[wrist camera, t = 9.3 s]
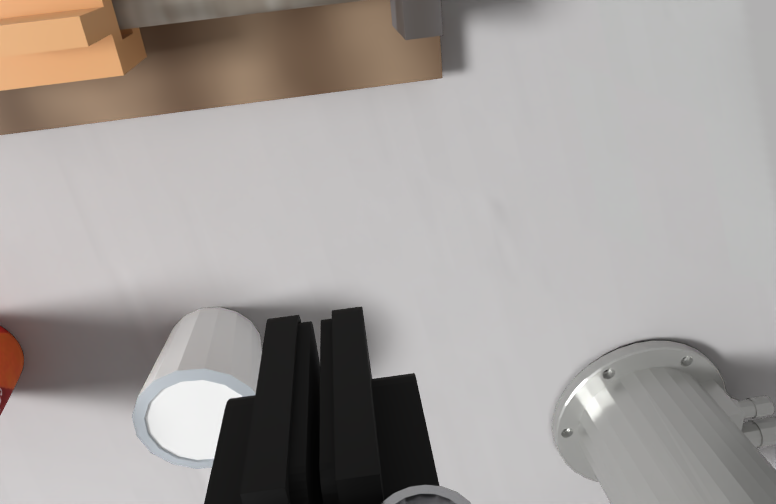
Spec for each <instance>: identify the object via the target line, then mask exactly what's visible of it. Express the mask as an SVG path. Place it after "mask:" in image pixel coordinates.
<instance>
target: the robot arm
mask: <svg viewBox="0 0 776 504" xmlns="http://www.w3.org/2000/svg"><path fill="white" fill-rule="evenodd" d="M773 413H774V405H773V402H772V401H771V399H770V398H769V397H767V396H760V397H754V398H748V399H746V400H741V401H737V400H736V399H734V398H730V397H729V396H728V395H727V394H726V388H725V384H724V380H723V378H722V376H721V374H720V372H719V371H718V369H717V368H716V367H715V365H714V364H713V363H712V362H711V361H710V360H709V359H708V358H707V357H706V356H705V355H703V354H702V353H701V352H699V351H698V350H697V349H695V348H692V347H690V346H688V345H685V344H682V343H677V342H672V341H647V342H641V343H635V344H632V345H628V346H625V347H622V348H619V349H617V350H615V351H612V352H610V353H608V354H606V355H604V356H602V357H601V358H599V359H598V360H596V361H595V362H593V363H592V364H590V365H589V366H587V367H586V368H585V369H584V370H583V371H582V372H580V373H579V374H578V375H577V376H576V377H575V378H574V379H573V380H572V382H571V383H570V384H569V385H568V387H567V388H566V389H565V390H564V392H563V394H562V396H561V397H560V399H559V401H558V403H557V406H556V409H555V412H554V415H553V422H552V433H553V439H554V442H555V445H556V447H557V449H558V451H559V454H560V455H561V457H562V459H563V460H564V462H565V463H566V464H567V465H568V466H569V467H570V468H571V469H572V470H573V471H574V472H576V473H577V474H579V475H581V476H583V477H585V478H587V479H590V480H593V481H596V482H599V483H600V485H601V487H602V489H603V491H604V492H605V494H606V496H607V498H608V500H609V502H610V504H776V470H775V469H774V468H773V467H772V465H771V464H770V463H769V462H768V461H767V460H766V459H765V457H764V456H763V455H762V454H761V453H760V452H759V451H758V449H757V448H760V447H766V446H772V445H776V417H766V418H760V419H754V420H748V422H745V423H743V421H744V419H746V418H758V417H764V416H770V415H773ZM756 447H757V448H756ZM204 504H471V503H470V501H468V500H467V499H466V498H464V497H463V496H462V495H460V494H459V493H458V492H456V491H453V490H450V489H448V488H445V487H442V486H439V482H438V477H437V473H436V468H435V464H434V459H433V454H432V450H431V445H430V440H429V436H428V431H427V427H426V422H425V417H424V413H423V408H422V404H421V399H420V394H419V390H418V385H417V380H416V376H415V374H414V373H413V374H405V375H398V376H391V377H383V378H376V379H372V376H371V368H370V361H369V353H368V346H367V339H366V331H365V324H364V317H363V310H362V307H355V308H348V309H340V310H333V311H332V319H326V320H321V346H320V362H319V357H318V351H317V345H316V340H315V334H314V329H313V324H312V322H304V323H301V320H300V317H299V315H295V316H287V317H280V318H272V319H268V320H267V323H266V330H265V336H264V343H263V349H262V356H261V362H260V368H259V375H258V381H257V388H256V394H255V395H252V396H245V397H238V398H231V399H229V400H228V401H227V403H226V406H225V410H224V415H223V419H222V424H221V429H220V433H219V438H218V442H217V447H216V452H215V456H214V461H213V465H212V470H211V475H210V479H209V484H208V488H207V493H206V498H205V502H204Z"/></svg>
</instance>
